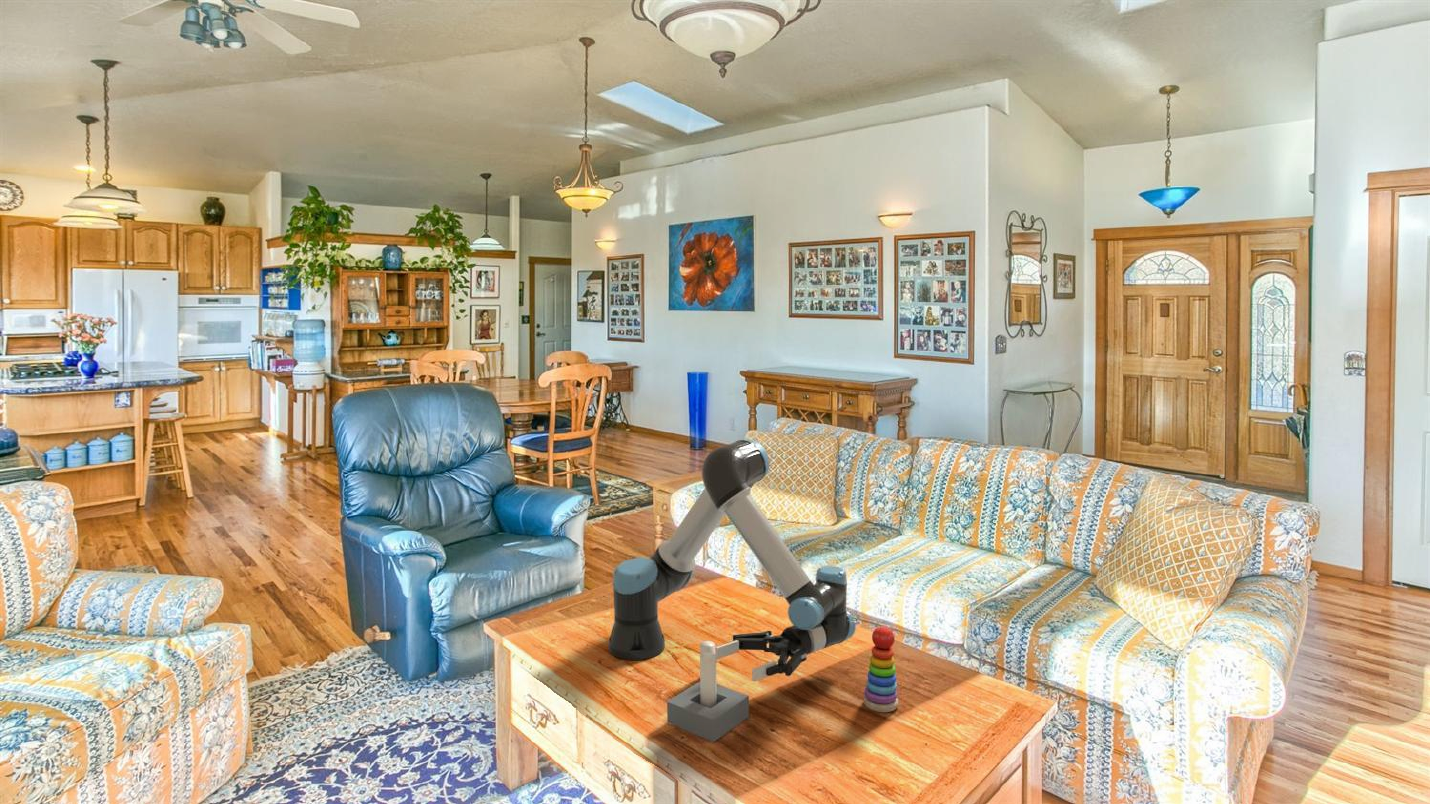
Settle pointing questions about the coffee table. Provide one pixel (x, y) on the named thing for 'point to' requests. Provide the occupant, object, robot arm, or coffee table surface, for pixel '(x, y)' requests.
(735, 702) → the hole block
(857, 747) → the coffee table surface
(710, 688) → the tall pin
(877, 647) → the stacking toy
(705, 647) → the short pin
